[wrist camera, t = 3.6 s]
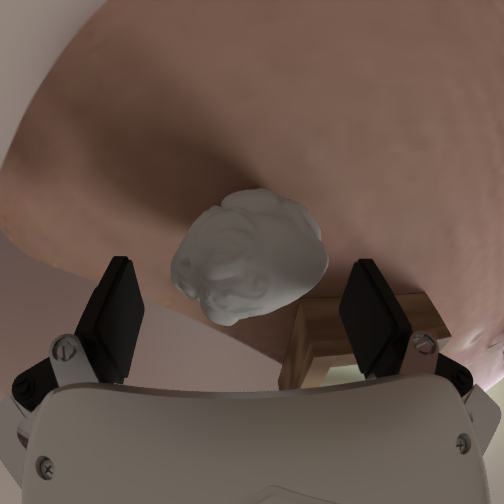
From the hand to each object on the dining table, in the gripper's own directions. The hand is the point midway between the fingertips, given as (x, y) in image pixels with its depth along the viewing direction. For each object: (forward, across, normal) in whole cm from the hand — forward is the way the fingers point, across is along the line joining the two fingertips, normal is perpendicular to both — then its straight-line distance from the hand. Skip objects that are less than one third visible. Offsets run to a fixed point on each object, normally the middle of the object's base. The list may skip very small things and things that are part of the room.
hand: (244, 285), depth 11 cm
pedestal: (+6, -11, +13) cm, 18 cm away
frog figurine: (+6, -1, 0) cm, 6 cm away
